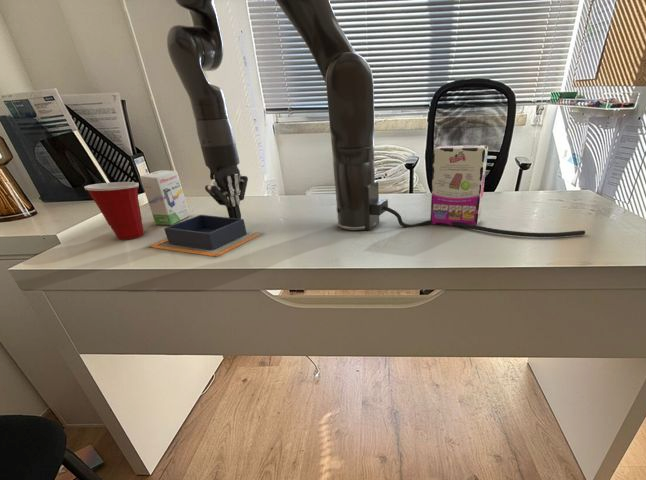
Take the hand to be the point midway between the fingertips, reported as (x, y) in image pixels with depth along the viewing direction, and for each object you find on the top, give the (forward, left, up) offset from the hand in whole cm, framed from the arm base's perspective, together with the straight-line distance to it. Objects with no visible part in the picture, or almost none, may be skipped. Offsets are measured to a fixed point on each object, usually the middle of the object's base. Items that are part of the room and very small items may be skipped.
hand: (236, 220), depth 96 cm
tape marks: (0, +11, -2) cm, 11 cm away
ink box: (+21, +1, -2) cm, 21 cm away
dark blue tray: (+1, +10, -1) cm, 10 cm away
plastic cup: (+21, +14, -2) cm, 25 cm away
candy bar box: (-51, -17, -2) cm, 54 cm away
